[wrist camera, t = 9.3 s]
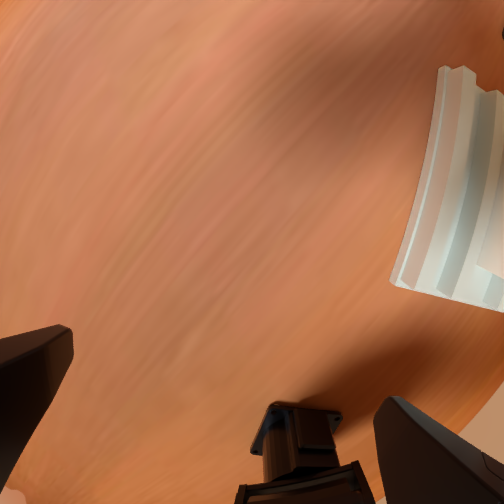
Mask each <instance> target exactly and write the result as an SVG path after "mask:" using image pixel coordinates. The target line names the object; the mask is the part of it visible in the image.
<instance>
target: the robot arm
mask: <svg viewBox="0 0 504 504" xmlns="http://www.w3.org/2000/svg"><path fill="white" fill-rule="evenodd" d="M73 356H74V349H73V333H72V330H71V329H70V328H68V327H65V326H63V325H60V324H57V325H53V326H50V327H46V328H42V329H38V330H34V331H30V332H26V333H22V334H18V335H14V336H10V337H6V338H2V339H0V494H1V492H2V490H3V487H4V485H5V484H6V482H7V480H8V478H9V476H10V474H11V472H12V470H13V468H14V466H15V464H16V463H17V461H18V459H19V457H20V455H21V453H22V452H23V450H24V448H25V446H26V445H27V443H28V441H29V439H30V438H31V436H32V434H33V432H34V431H35V429H36V427H37V426H38V424H39V422H40V421H41V419H42V417H43V416H44V414H45V412H46V411H47V409H48V408H49V406H50V404H51V403H52V401H53V399H54V397H55V395H56V393H57V391H58V389H59V387H60V384H61V382H62V380H63V378H64V376H65V374H66V372H67V370H68V368H69V366H70V364H71V362H72V360H73ZM273 410H275V411H273ZM336 417H337V418H336ZM342 419H343V416H342V413H341V412H335V411H322V410H312V409H302V408H294V407H286V406H279V405H271V406H269V407H268V408H267V410H266V413H265V415H264V418H263V420H262V422H261V425H260V427H259V429H258V432H257V434H256V436H255V438H254V441H253V443H252V445H251V447H250V453H251V454H253V455H260V456H263V475H264V483H260V484H252V485H247V484H244V485H239V489H238V493H237V494H236V498H235V502H234V504H376V503H375V500H374V497H373V494H372V492H371V489H370V487H369V485H368V482H367V480H366V477H365V475H364V473H363V470H362V468H361V466H360V463H359V461H358V460H357V461H353V462H351V464H347V465H344V466H340V463H339V459H338V455H337V452H336V444H335V441H334V437H333V434H334V432H335V430H336V429H337V427H338V426H339V424H340V422H341V421H342ZM373 425H374V432H375V440H376V448H377V456H378V463H379V468H380V473H381V477H382V482H383V487H384V491H385V496H386V501H387V504H504V464H502V463H500V462H498V461H497V460H495V459H493V458H492V457H490V456H489V455H487V454H486V453H484V452H481V450H479V449H477V448H476V447H475V446H473V445H472V444H470V443H468V442H467V441H465V440H464V439H462V438H461V437H459V436H458V435H456V434H455V433H453V432H452V431H450V430H449V429H447V428H446V427H444V426H443V425H441V424H440V423H438V422H437V421H435V420H434V419H432V418H431V417H429V416H428V415H426V414H425V413H424V412H422V411H421V410H419V409H418V408H416V407H415V406H413V405H412V404H410V403H409V402H407V401H406V400H405V399H403V398H402V397H400V396H387V397H386V398H385V399H384V401H383V403H382V404H381V406H380V407H379V409H378V411H377V412H376V414H375V416H374V419H373Z"/></svg>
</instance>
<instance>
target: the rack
mask: <svg viewBox="0 0 504 504" xmlns="http://www.w3.org/2000/svg"><path fill="white" fill-rule="evenodd" d="M503 146H504V95H503V94H502V93H501V92H499V91H498V90H493V91H489V92H485V91H484V90H483V89H481V88H480V87H478V86H477V85H476V73H474V72H473V71H471V70H470V69H468V68H467V67H465V66H464V65H462V66H460V67H458V68H455V69H451V68H450V67H448V66H447V65H444V66H442V67H440V68H438V77H437V86H436V94H435V101H434V108H433V115H432V121H431V127H430V132H429V138H428V143H427V148H426V153H425V158H424V162H423V167H422V171H421V176H420V180H419V184H418V188H417V192H416V196H415V199H414V203H413V207H412V210H411V214H410V217H409V221H408V224H407V228H406V231H405V234H404V237H403V241H402V244H401V247H400V250H399V253H398V256H397V259H396V262H395V265H394V267H393V270H392V273H391V276H390V279H389V281H390V282H391V283H392V284H393V285H395V286H398V287H402V288H406V289H410V290H414V291H418V292H422V293H427V294H431V295H435V296H439V297H443V298H447V299H451V300H455V301H459V302H463V303H467V304H471V305H475V306H479V307H483V308H487V309H491V310H495V311H499V312H503V313H504V279H502V278H501V277H499V276H497V275H495V274H493V273H491V272H489V271H487V270H485V269H483V268H481V267H479V266H477V265H476V263H477V260H478V257H479V254H480V251H481V248H482V244H483V241H484V238H485V234H486V231H487V227H488V223H489V219H490V215H491V211H492V207H493V203H494V198H495V194H496V189H497V184H498V178H499V173H500V167H501V160H502V153H503Z"/></svg>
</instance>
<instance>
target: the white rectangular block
mask: <svg viewBox="0 0 504 504" xmlns="http://www.w3.org/2000/svg"><path fill="white" fill-rule="evenodd" d="M476 265H477V266H479V267H481V268H483V269H485V270H487V271H489V272H491V273H493V274H495V275H497V276H499V277H501V278H502V279H504V146H503V153H502V160H501V167H500V173H499V178H498V184H497V189H496V194H495V198H494V203H493V207H492V211H491V215H490V219H489V223H488V227H487V231H486V234H485V238H484V241H483V244H482V248H481V251H480V254H479V257H478V260H477V263H476Z"/></svg>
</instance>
